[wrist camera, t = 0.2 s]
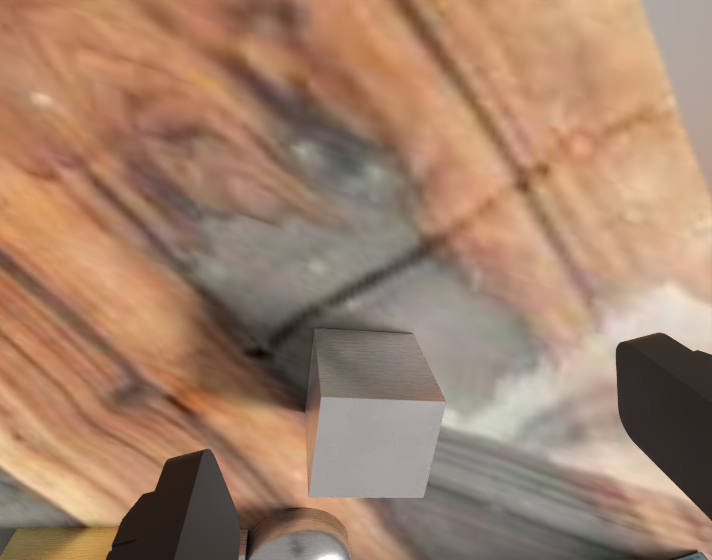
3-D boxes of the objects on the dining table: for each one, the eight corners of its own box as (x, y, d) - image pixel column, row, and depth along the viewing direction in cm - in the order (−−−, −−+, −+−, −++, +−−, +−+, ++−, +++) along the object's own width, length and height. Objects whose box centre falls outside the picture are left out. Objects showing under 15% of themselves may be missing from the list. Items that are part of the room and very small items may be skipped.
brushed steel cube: (304, 412, 30) (308, 497, 24) (314, 327, 28) (321, 397, 22) (397, 416, 31) (423, 497, 25) (413, 333, 29) (446, 401, 23)
